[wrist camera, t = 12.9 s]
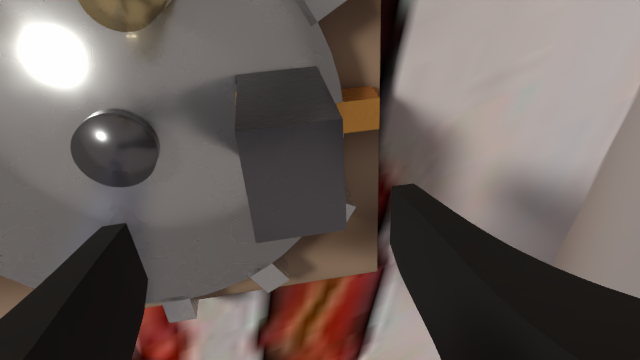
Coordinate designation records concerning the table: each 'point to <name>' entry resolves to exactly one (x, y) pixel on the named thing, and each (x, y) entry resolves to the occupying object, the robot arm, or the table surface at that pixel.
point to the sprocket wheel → (147, 133)
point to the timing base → (359, 161)
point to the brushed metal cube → (290, 153)
